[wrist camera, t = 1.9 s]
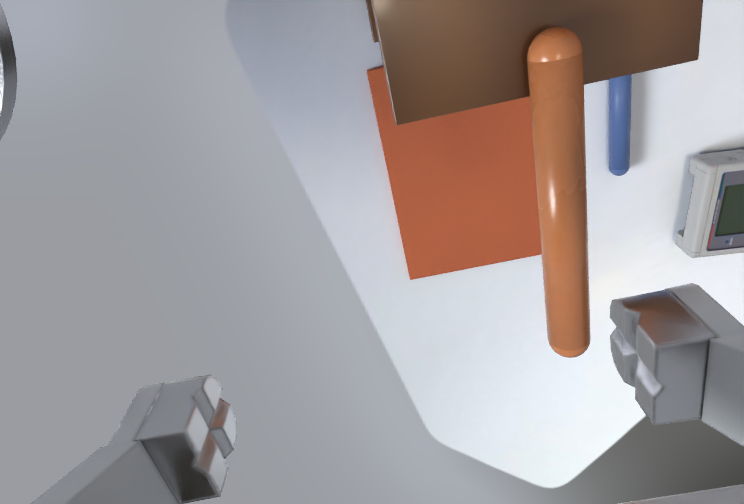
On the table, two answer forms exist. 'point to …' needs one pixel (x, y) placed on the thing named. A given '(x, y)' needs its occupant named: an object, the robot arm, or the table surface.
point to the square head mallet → (561, 184)
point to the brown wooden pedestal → (517, 46)
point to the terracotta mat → (461, 184)
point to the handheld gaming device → (715, 206)
